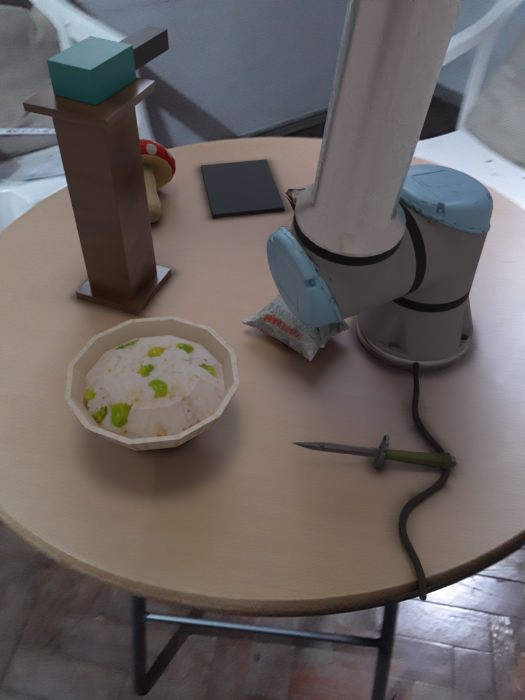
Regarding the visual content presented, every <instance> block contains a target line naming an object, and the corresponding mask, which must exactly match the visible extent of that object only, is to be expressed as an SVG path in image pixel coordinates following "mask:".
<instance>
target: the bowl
mask: <svg viewBox="0 0 525 700" xmlns="http://www.w3.org/2000/svg"><path fill="white" fill-rule="evenodd" d="M236 353H237V352H236V350H235V349H234V348H233V347H231V345H230V344H228V342H226V340H225V339H223V337H221V336H220V334H218V333H217V332H216V331H215V330H214V329H213V328H212V327H211V326H209V325H205V324H202V323H198V322H195V321H191V320H189V319H186V318H185V319H184V318H181V317H178V316H174V315H167V316H154V317H143V318H129V319H128V320H125V321H123V322H121V323H119V324H117V325H115V326H113V327H111V328H109V329H106V330H104V331H102V332H100V333H98V334H95V335H93V336H92V337H91V338H90V339H89V340H88V341H87V342H86V344H85V345H84V346H83V347H82V348H81V350H80V351H79V352H78V353H77V354H76V355H75V356H74V357H73V359H72V360H71V361H70V362H69V363H68V364H67V369H66V370H67V371H66V379H65V389H64V400H65V402H66V403H67V405H68V406H69V408H70V409H71V410H72V412H73V413H74V414H75V416H76V417H77V419H78V420H79V421H80V423H81V424H82V425H83V427H84V428H85V430H87V431H89V432H91V433H92V434H94V435H96V436H97V437H99V438H100V439H103V440H106V441H109V442H111V443H113V444H117V445H119V446H122V447H125V448H128V449H131V450H134V451H149V450H159V449H160V450H161V449H169V448H177V447H179V446H181V445H183V444H184V443H186V442H188V441H190V440H192V439H194V438H196V437H197V436H199V435H200V434H203V433H204V432H206V431H207V430H209V429H211V428H212V427H213V426H214V425H215V423H216V422H217V421H218V420H219V418H220V417H221V415H222V413H223V412H224V411H225V409H226V407H227V405H228V404H229V402H230V400H231V399H232V397H233V396H234V393H235V392H236V390H237V388H238V387H239V386H240V377H239V369H238V362H237V361H238V360H237V354H236Z"/></svg>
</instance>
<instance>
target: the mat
mask: <svg viewBox="0 0 525 700" xmlns="http://www.w3.org/2000/svg"><path fill="white" fill-rule="evenodd" d="M200 169H201V173H202V177H203V181H204V186H205V190H206V193H207V198H208V201H209V202H208V203H209V206H210V209H211V210H210V211H211V214H212V217H213V218H222V217H232V216H240V215H241V216H242V215H252V214H261V213H270V212H271V213H272V212H280V211H285V210H286V209H285V208H286V207H285V205H284V202H283V199H282V197H281V194H280V192H279V189H278V187H277V183H276V181H275V178H274V176H273V173H272V170H271V168H270V165H269V162H268V160H267V159H266V158H265V159H256V160H255V159H254V160H244V161H235V162H234V161H233V162H223V163H212V164H202V165H200Z"/></svg>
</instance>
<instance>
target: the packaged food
mask: <svg viewBox="0 0 525 700" xmlns="http://www.w3.org/2000/svg"><path fill="white" fill-rule="evenodd" d="M241 323H242V324H243V325H246V326H249V327H251V328H254V329H256V330H257V331H259V332H261V333H263V334H266V335H267V336H269V337H272V338H274V339H276V340H279V341H280V342H282V343H283V344H284V345H286V346H288V347H289V348H291V349H293V350H294V351H295V352H297V353H299V354H300V355H301V356H303V357H304V358H305V359H307V360H308V361H310V362H312V361H313V359H314V357H315V355H316V354H317V352H318V351H319V349H320V348H322V349H325V347H326V344H327V343H328V342H330V340H331V339H332V337H335V336H337V334H341V333H342V332H346V331H349V330H350V328H351V326H350V325H349V324H348V323H347V322H346V319H344V320H342V321H341V322H339V323H336V322H334V323H330V324H327V325H324V326H321V327H311V326H308V325H305V324H303V323H302V322H300V321H299V320H298V319H297V318H296V317H295V316H294V315H293V314H292V312H291V311H290V310H289V308H288V307H287V305H286V304H285V302H284V300H283V299H282V297H281V295H280V293H279V294H277V296H276V297H275V298H274V299H272V300H271V301H270V302H269V303H268V304H267V305H265V306H264V307H263V308H262V309H261V310H260V311H259V312H257V313H255V314H252V315H250V316H248V317H246V318H244V319H242V321H241Z"/></svg>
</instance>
